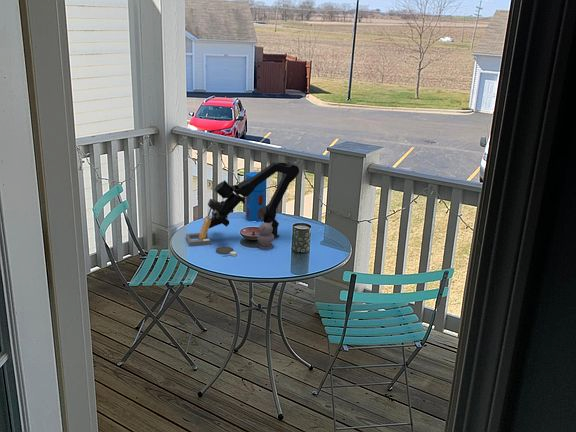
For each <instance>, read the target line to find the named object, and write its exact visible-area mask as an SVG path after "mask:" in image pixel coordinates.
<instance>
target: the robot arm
mask: <svg viewBox="0 0 576 432" xmlns="http://www.w3.org/2000/svg"><path fill="white" fill-rule="evenodd" d="M258 172H259V173H258V174H256V175H255V176H254V177H252V178H250V179H247V180H246V179H245V180H242V181H240V182H239V183H238V184H233V185H230V184H229V183H228V182H227V181H226V180H225V179H224V180H223V181H221V182H220V183H218V184H217V185H216V186H215V188H214V192H216V194H218V195H219V196H220V197H221V198H223V199H225V200H222V201H218V200H215V199H213V198H210V199H209V200H208V202H207V205H208V207H209V208H210V209H211V210H213V211H211V217H210V219H211V223H210V226H209V229H212V228H214V227H216V226H219V225H223V226H225V227H228V226H229V225H230V220H229V219H228V217H229V215H230V214H231V213H234V212H235V210H234V209H235V208H236V207H237V206H238V205H239V204H240V203H241V202H242V204H245V205H246V197H247V196H249V195H250V194H251V193H252V192H253V191H254V189H255V188H256V186H257V185H259V184H260V183H262V182H263V181H264V180H266V181H267V179H268V178H270V177H272V176H273V175H274V174H275V173H282V174H281V178H280V181H279V182H278V185H277V186H276V189H275V190H274V192H273V195H272V196H271V198H270V199H269V203H268V204H266V206H264V205H263V207H262V210H261V211H260V218H261V219H262V220H263V221H262V222H263V223H271V222H272V227H273V231H272V234H273V235H274V239H276V238H278V237H280V234H278V231H279V230H278V229H279V228H278V227H279V225H280V223H279V221H277V219H276V217H277V211H278V207H279V205H280V203H281V201H282V199H283V197H284V196H285V193H286V191H287V189H288V188H289V185H290V184H291V183H292V182H293V181H294V180H295V179H296V178H297V176H298V175H299V173H300V168H299V166H298V165H296V164H295V163H294V162H291V161H289V162H286V163H285V162H276V161H273V162H271V163H270V164H268V166H267V167H265V168H263V169H262V170H261V171H258Z"/></svg>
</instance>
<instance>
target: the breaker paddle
mask: <svg viewBox="0 0 576 432" xmlns="http://www.w3.org/2000/svg"><path fill="white" fill-rule="evenodd" d="M210 223H211V217H210V216H208V215H205V217H204V220H203V223H202V226H201V229H200V231H199V233H200V234H199V239H200V240H203V239H206V238H205V237H206V234H207V235H208V232H209V229H210V228H209V226H210ZM199 239H198V240H199Z"/></svg>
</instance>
